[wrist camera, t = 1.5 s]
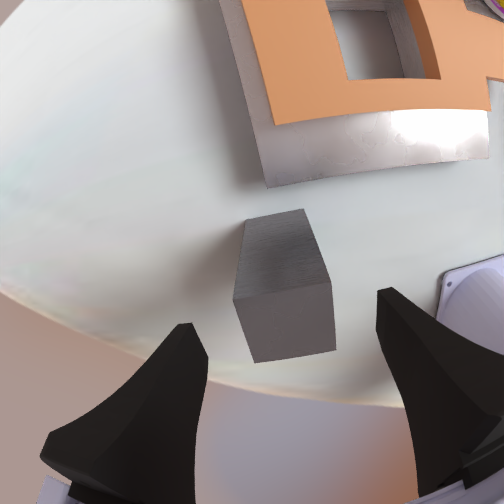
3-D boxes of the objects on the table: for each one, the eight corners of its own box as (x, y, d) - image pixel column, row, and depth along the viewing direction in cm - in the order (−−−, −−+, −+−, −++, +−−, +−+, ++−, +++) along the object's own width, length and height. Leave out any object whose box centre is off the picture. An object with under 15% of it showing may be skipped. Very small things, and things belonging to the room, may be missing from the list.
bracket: (527, 115, 10) (542, 118, 8) (274, 124, 12) (275, 125, 11) (502, 8, 6) (515, 6, 5) (235, -16, 9) (232, -29, 7)
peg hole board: (467, 150, 14) (515, 168, 10) (266, 177, 16) (267, 203, 11) (420, -33, 8) (455, -57, 3) (211, -30, 10) (194, -70, 5)
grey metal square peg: (311, 259, 18) (336, 350, 11) (258, 269, 19) (254, 363, 12) (303, 208, 17) (331, 281, 10) (246, 219, 17) (232, 299, 10)
